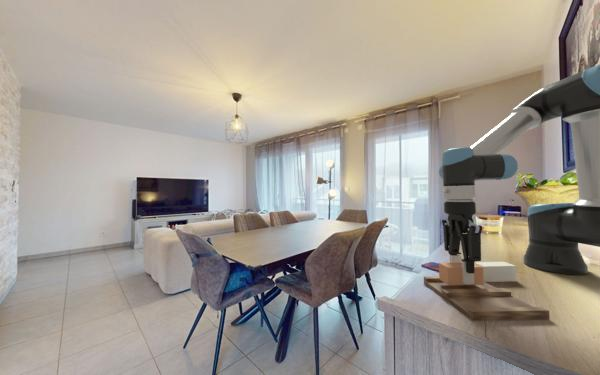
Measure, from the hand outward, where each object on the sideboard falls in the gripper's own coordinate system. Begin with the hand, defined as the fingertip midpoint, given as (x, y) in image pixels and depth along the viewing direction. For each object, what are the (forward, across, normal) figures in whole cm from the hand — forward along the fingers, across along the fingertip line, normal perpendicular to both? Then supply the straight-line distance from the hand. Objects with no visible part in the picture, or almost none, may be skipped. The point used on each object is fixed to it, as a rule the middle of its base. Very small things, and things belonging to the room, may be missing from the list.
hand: (462, 279), depth 64 cm
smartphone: (+3, -15, +5) cm, 16 cm away
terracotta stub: (+1, 0, 0) cm, 1 cm away
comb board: (+3, +5, 0) cm, 6 cm away
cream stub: (+3, -7, +15) cm, 17 cm away
